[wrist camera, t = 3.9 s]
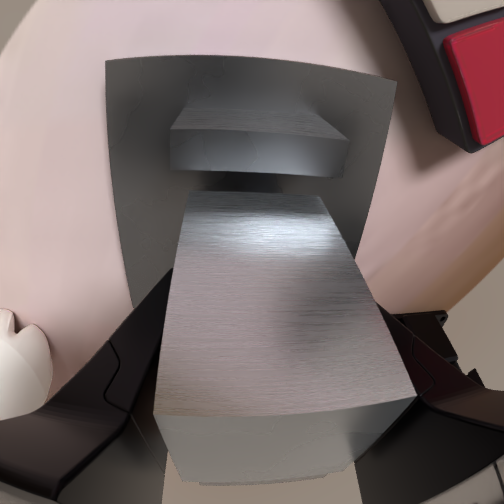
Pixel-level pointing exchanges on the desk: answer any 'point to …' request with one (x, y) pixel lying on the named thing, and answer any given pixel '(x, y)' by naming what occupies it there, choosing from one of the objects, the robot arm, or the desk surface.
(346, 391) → the column
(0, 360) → the water bottle
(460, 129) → the button control pad
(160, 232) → the stand base
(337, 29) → the desk surface
